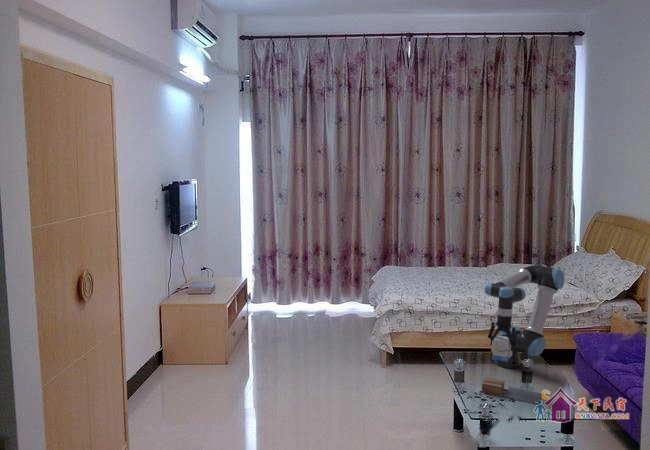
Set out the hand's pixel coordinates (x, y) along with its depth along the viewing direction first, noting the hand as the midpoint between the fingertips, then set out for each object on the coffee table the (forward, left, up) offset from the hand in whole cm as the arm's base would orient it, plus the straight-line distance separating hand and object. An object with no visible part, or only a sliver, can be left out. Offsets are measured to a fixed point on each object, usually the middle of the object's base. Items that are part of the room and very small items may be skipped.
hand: (501, 353), depth 323 cm
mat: (+9, +14, -18) cm, 24 cm away
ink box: (0, 0, -3) cm, 3 cm away
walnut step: (+11, -1, -18) cm, 21 cm away
